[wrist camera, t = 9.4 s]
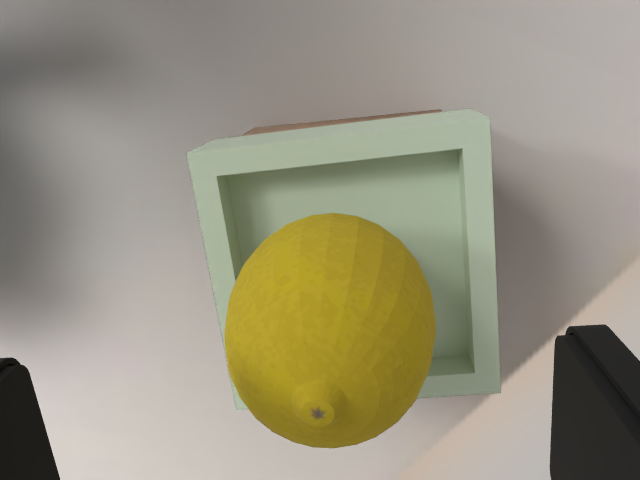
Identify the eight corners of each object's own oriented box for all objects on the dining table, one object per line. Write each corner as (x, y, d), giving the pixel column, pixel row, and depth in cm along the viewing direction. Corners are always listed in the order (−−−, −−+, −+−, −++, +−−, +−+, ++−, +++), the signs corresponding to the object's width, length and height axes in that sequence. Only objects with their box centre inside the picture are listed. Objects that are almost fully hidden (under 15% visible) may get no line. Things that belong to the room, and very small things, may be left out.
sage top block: (213, 139, 20) (186, 153, 17) (471, 108, 19) (489, 117, 16) (253, 363, 23) (236, 409, 20) (482, 346, 22) (500, 392, 19)
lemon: (456, 240, 18) (513, 388, 11) (362, 360, 20) (356, 555, 13) (311, 148, 18) (268, 240, 10) (228, 281, 20) (141, 439, 12)
